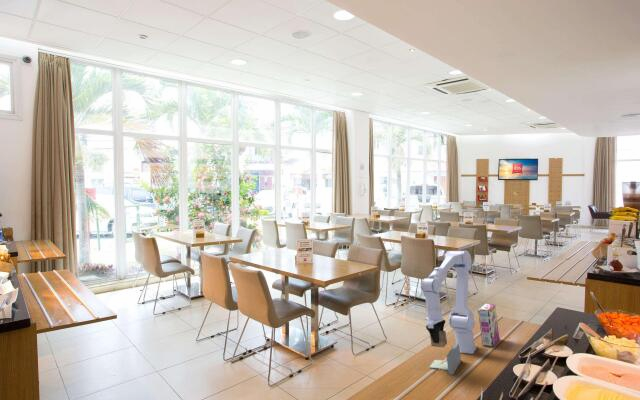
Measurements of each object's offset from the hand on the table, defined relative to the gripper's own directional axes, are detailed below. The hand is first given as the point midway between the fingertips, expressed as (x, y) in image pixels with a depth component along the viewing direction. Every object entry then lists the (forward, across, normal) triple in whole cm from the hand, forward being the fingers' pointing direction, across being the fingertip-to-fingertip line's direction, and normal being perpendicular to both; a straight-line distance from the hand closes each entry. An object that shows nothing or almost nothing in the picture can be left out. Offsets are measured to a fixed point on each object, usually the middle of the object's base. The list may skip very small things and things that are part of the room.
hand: (438, 340), depth 154 cm
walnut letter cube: (+2, 0, 0) cm, 2 cm away
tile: (+10, 0, 0) cm, 10 cm away
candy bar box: (+10, -31, +14) cm, 36 cm away
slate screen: (+10, 0, +6) cm, 12 cm away
